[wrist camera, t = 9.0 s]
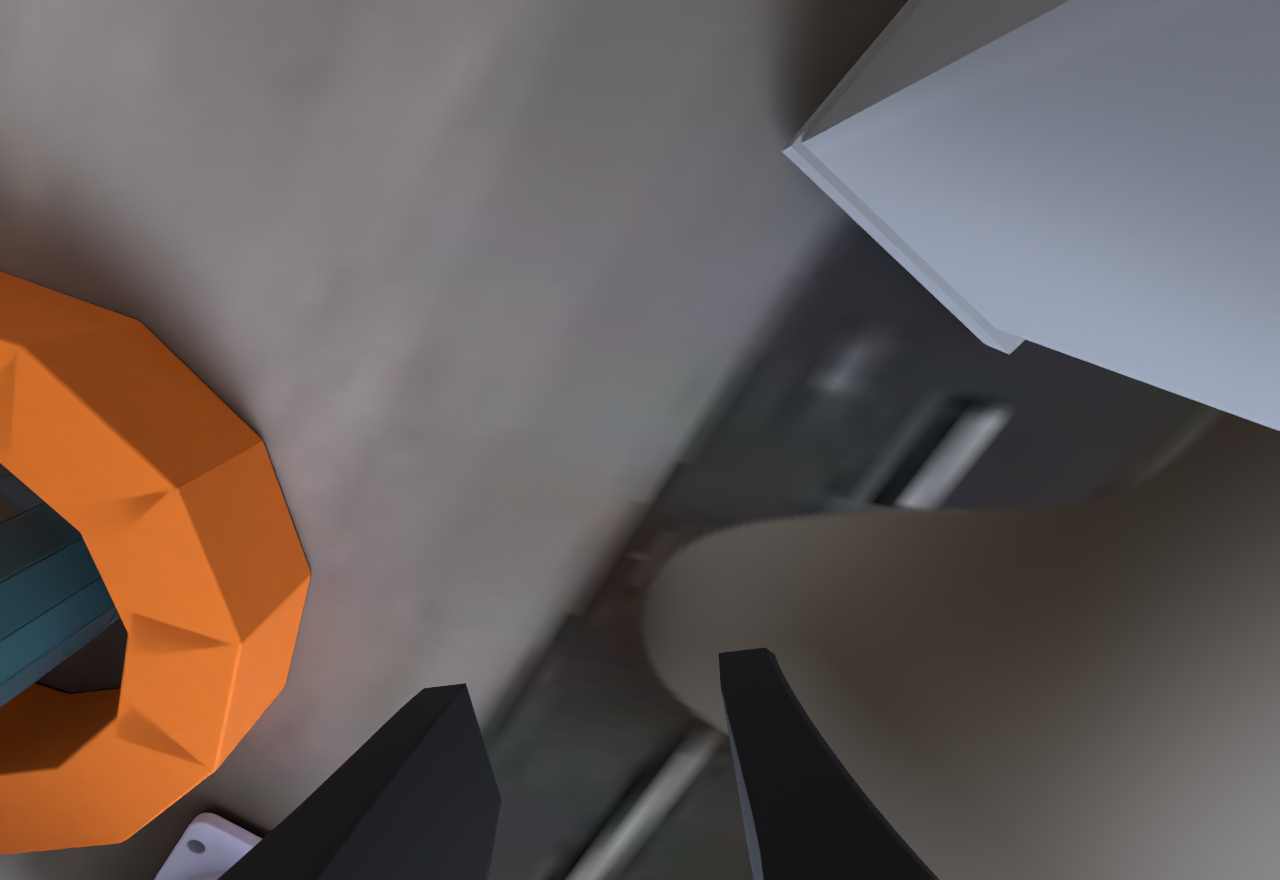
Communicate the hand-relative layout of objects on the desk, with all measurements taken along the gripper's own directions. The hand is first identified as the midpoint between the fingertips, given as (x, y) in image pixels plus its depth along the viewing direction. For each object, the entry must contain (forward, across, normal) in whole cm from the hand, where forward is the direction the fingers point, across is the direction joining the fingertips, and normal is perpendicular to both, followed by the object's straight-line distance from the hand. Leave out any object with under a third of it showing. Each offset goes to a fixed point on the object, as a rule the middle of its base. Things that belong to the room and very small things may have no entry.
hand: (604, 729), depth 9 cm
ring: (+7, +15, -1) cm, 17 cm away
